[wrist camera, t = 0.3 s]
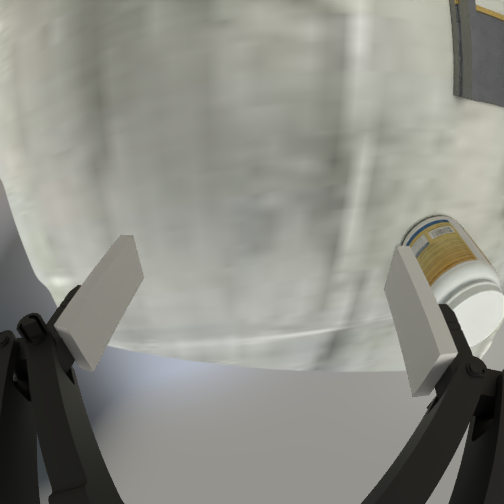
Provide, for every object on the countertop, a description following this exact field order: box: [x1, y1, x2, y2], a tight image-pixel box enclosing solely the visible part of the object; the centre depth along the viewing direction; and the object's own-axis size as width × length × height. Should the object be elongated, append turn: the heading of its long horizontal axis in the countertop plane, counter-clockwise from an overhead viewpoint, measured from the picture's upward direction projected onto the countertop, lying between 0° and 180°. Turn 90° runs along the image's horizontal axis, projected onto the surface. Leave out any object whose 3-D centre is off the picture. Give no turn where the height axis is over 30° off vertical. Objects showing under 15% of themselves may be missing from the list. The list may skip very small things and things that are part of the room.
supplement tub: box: [402, 216, 504, 347], centre depth 37 cm, size 12×12×17 cm
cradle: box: [449, 0, 504, 107], centre depth 24 cm, size 14×14×4 cm
